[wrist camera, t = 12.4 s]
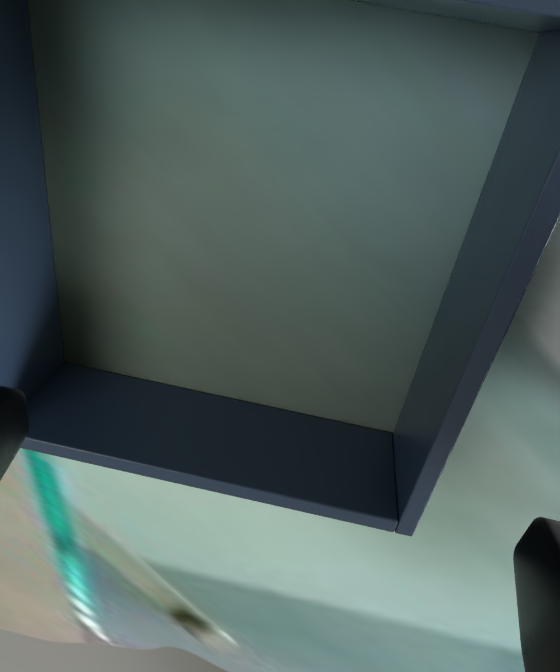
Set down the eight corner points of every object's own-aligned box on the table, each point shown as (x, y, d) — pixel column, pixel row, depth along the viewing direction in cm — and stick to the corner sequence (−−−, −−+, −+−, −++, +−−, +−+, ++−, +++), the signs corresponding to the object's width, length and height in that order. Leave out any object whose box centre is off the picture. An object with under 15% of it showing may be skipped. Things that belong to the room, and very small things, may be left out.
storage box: (573, 8, 14) (666, -10, 10) (403, 446, 23) (412, 537, 19) (-4, -89, 15) (-152, -144, 11) (52, 370, 24) (-16, 440, 20)
